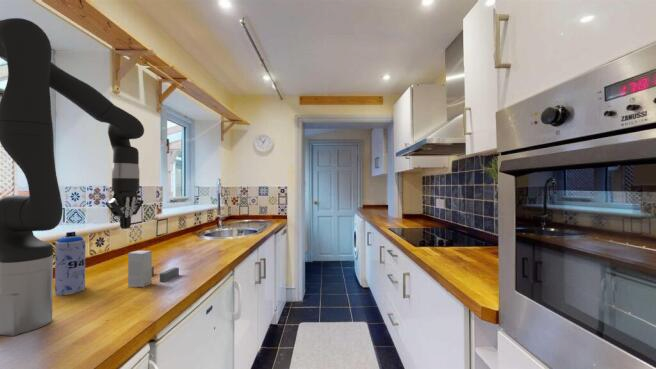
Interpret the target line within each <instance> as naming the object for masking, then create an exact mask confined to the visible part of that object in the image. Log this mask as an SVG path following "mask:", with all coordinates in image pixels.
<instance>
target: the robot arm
mask: <svg viewBox="0 0 656 369" xmlns="http://www.w3.org/2000/svg"><path fill="white" fill-rule="evenodd" d="M0 59H1V60H3V61H5V62H6V64H7V81H6V85H5V88H4V91H3V93H2V95H1V99H0V144H1V146H2V148H3V150H4V151H5V152H6V153H7V155H8V156H9V157H10V158H11V159H12V160H13V162H14V163H15V164H16V165H17V166H18V167H19V168H20V170H21V171H22V173H23V174H24V176H25V178H26V182H27V187H28V194H13V195H12V194H11V195H6V196H4V197H2V198H1V199H0V336H11V337H14V336H17V335H19V334H23V333H26V332H27V333H28V332H31V331H34V330H37V329H39V328H40V329H41V327H44V326H46V325H48V324H50V323H51V322H52V321H53V294H54V293H53V292H54V291H53V290H54V288H53V285H54V284H53V280H54V279H53V277H54V276H53V275H54V269H53V268H54V247H53V246H54V245H53V244H52V243H49V242H47V241H43V240H41V239H40V238H38V237H36V236H35V234H34V232H45V231H47V232H48V231H52V230H54V229H55V228H57V226H59V224H60V223H61V221H62V217H63V203H62V201H63V200H62V196H61V191H60V188H59V186H60V185H59V183H58V182H59V181H58V176H57V170H56V162H55V161H56V160H55V149H54V147H55V146H54V126H53V117H52V104H51V103H52V102H51V90H50V89H52V90H53V91H55V92H57V93H58V94H60V95H62V96H63V98H66V99H67V100H68V101H70V102H71V103H73V104H74V105H76V106H77V107H78V108H80V109H81V110H82V111H84V112H85V113H86V114H87V115H88V116H90V117H92V118H93V119H94V120H96V121H97V122H100V123H106V124H108V125H107V126H108V127H107V134H108V139H109V143H110V146H111V149H112V168H111V191H113V195H112V199H111V200H110V201H106V202H105V205H106V207H107V209H109V211H110V212H111V213H112V215H113V216H114V217H118V218H119V227H120V229H122V230H125V229H130V228H131V225H132V217H133V216H136V215H137V213H138V212H139V210H140V209H141V207H142V205H143V204H144V200H143V199H140V198H139V195H138V192H139V191H140V165H139V164H140V163H139V159H140V157H139V154H140V153H139V149H138V148H137V147H134V146H132V145H131V141H130V140H137V139H140V138H142V137H143V135H144V134H145V128H144V124H142V122H141V121H140V120H139V119H138V118H137V117H136V116H134V115H132V114H131V113H130V112H127V111H126V110H125V109H122V108H120V107H118V106H117V105H115V104H114V103H113V102H112V101H111V100H110V99H109V98H107V97H106V96H105V95H103V94H102V92H100V91H98V90H97V89H96V88H94V87H93V86H92V85H90V84H88V83H86V82H84V81H83V80H81V79H79V78H77V77H75V76H73V75H71V74H70V73H68V72H66V71H65V70H63V69H62V68H60V67H59V66H58V65H55V63H53V62H52V45H51V41H50V39H49V36H48V35H47V34H46V32H45V31H44V29H42V28H41V27H40V26H39V25H38V24H36V23H35V22H33V21H31V20H28V19H26V18H21V17H14V18H13V17H11V18H6V19H0Z"/></svg>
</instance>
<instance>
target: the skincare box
mask: <svg viewBox="0 0 656 369" xmlns="http://www.w3.org/2000/svg"><path fill="white" fill-rule="evenodd" d="M152 254H153V253H152V250H135V251H134V250H133V251H131V252H128V253H127V258H128V259H127V260H128V261H127V262H128V263H127V268H128V269H127V273H128V274H127V287H131V288H144V287H146V286H148V285H149V286H150V284H152V282H153V280H152V279H153V278H152V277H153V276H152V267H153V265H152V261H153V260H152V259H153V258H152V257H153V256H152Z"/></svg>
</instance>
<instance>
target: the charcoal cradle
mask: <svg viewBox="0 0 656 369" xmlns="http://www.w3.org/2000/svg"><path fill="white" fill-rule="evenodd" d="M154 272H155V267H154V266H152V275H154V274H155V273H154ZM179 273H180V268H179V267H173V268H170V269H167V270H165V271H162V272H160V273H159V283H165V282H168V281H170V280H171V279H173V278H176V277H178V276H179V275H180V274H179Z"/></svg>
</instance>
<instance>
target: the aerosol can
mask: <svg viewBox="0 0 656 369" xmlns="http://www.w3.org/2000/svg"><path fill="white" fill-rule="evenodd" d="M57 240H58V241H56V243H55V245H54V247H55V250H54V251H55V252H54V253H55V255H54V257H55V260H54V268H55V269H54V270H55V271H54V291H53V292H54V293H53V294H54V295H55V296H66V295H67V296H68V295H72V294H76V293H79V292H83V291H84V290H86V289H85V288H87V287H86V240H85V238H84V237H82V236H80V235H79V234H77V233H76V231H69V232H66V233H65V236H63V237H61V238H59V239H57ZM82 290H83V291H82Z"/></svg>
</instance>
